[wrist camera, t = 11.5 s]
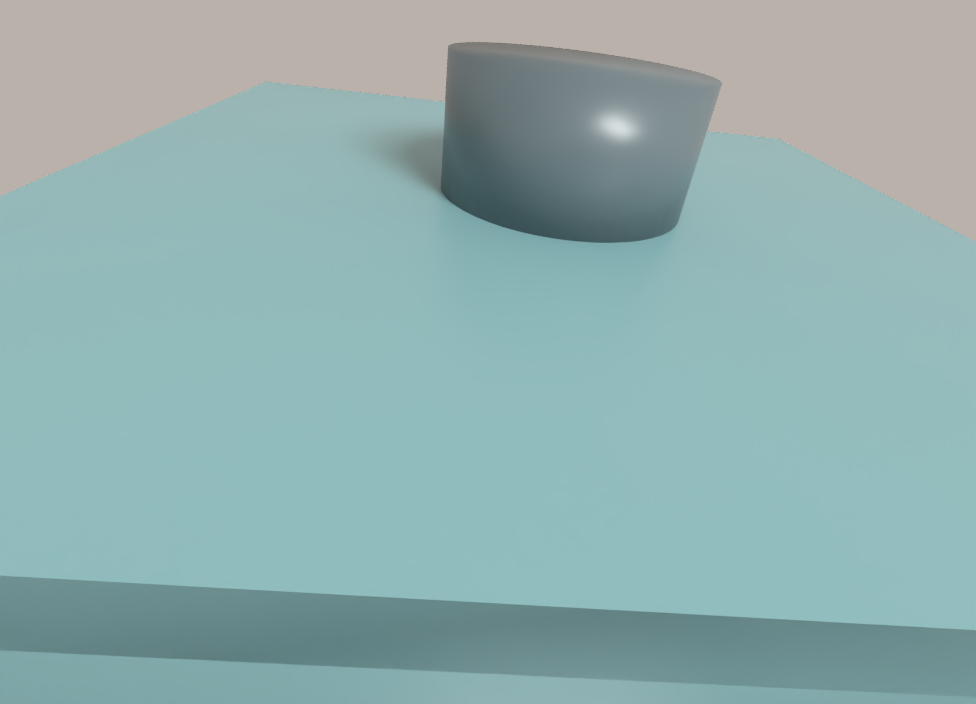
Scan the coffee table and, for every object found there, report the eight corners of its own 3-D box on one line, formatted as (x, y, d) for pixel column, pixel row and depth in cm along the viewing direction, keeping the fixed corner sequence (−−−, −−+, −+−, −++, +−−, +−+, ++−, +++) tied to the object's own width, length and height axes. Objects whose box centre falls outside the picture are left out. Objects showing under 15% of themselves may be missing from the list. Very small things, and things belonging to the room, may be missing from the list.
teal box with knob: (147, 1006, 9) (-1685, 65, 1) (315, 500, 18) (255, -6, 10) (760, 1012, 10) (2504, 456, 2) (629, 521, 19) (809, 61, 11)
